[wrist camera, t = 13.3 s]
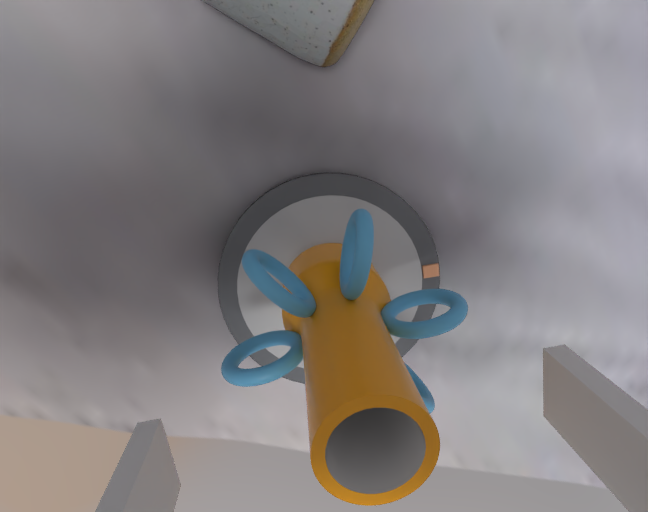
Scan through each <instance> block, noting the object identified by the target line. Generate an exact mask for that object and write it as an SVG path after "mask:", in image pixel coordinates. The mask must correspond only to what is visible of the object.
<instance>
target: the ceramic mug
mask: <svg viewBox="0 0 648 512" xmlns="http://www.w3.org/2000/svg"><path fill="white" fill-rule="evenodd" d="M201 1H203V2H205V3H207V4H209V5H210V6H212V7H214V8H216V9H217V10H219V11H221V12H222V13H224V14H226V15H227V16H229V17H231V18H232V19H234V20H235V21H237V22H239V23H240V24H242V25H244V26H245V27H247V28H249V29H250V30H252V31H254V32H256V33H258V34H260V35H262V36H263V37H265V38H266V39H268V40H270V41H271V42H273V43H274V44H276V45H278V46H279V47H281V48H283V49H284V50H286V51H288V52H289V53H291V54H293V55H294V56H296V57H298V58H300V59H302V60H305V61H307V62H310V63H312V64H315V65H317V66H322V67H326V66H330V65H333V64H335V63H336V62H337V61H338V60H339V59H340V57H341V56H342V55H343V53H344V52H345V50H346V49H347V47H348V45H349V44H350V42H351V40H352V39H353V37H354V35H355V34H356V32H357V30H358V29H359V27H360V25H361V24H362V22H363V20H364V18H365V17H366V15H367V13H368V11H369V9H370V7H371V6H372V4H373V2H374V0H201Z"/></svg>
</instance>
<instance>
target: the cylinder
mask: <svg viewBox="0 0 648 512" xmlns="http://www.w3.org/2000/svg"><path fill="white" fill-rule="evenodd" d="M373 245H374V226H373V220H372V217H371V214H370V213H369V212H368V211H367V210H365V209H357V210H355V211H354V212H353V213H352V215H351V216H350V219H349V221H348V224H347V227H346V231H345V235H344V240H343V244H341V243H323V244H319V245H316V246H313V247H311V248H309V249H307V250H305V251H304V252H302V253H301V254H300V255H298V256H297V257H296V258H295V259H294V261H293V262H292V263H291V264H290V266H289V268H287V267H286V266H285V265H284V264H282V263H281V262H280V261H278V260H277V259H275V258H274V257H272V256H271V255H269V254H267V253H265V252H263V251H261V250H257V249H250V250H248V251H246V252H245V253H244V254H243V256H242V266H243V269H244V271H245V273H246V274H247V276H248V277H249V279H250V280H251V281H252V283H253V284H254V285H255V286H256V287H257V288H258V289H259V290H260V291H261V292H262V293H263V294H264V295H265V296H266V297H267V298H268V299H270V300H271V301H272V302H273V303H274V304H276V305H277V306H279V307H280V308H282V319H283V325H284V328H285V330H278V331H271V332H266V333H263V334H259V335H257V336H254V337H252V338H250V339H247V340H246V341H244V342H242V343H240V344H239V345H237V346H236V347H235V348H233V349H232V350H231V351H230V352H229V353H228V354H227V356H226V357H225V359H224V360H223V363H222V367H221V371H222V375H223V377H224V378H225V380H226V381H228V382H229V383H231V384H233V385H236V386H244V387H248V386H257V385H262V384H266V383H269V382H272V381H274V380H276V379H279V378H281V377H283V376H284V375H286V374H288V373H289V372H291V371H292V370H293V369H294V368H296V367H297V366H298V365H299V364H300V363H301V361H302V360H303V361H304V374H305V388H306V401H307V415H308V429H309V443H310V457H311V465H312V468H313V471H314V474H315V476H316V478H317V479H318V481H319V483H320V484H321V485H322V486H323V487H324V488H325V489H326V490H327V491H328V492H329V493H331V494H332V495H334V496H335V497H337V498H339V499H341V500H343V501H346V502H349V503H352V504H358V505H381V504H386V503H390V502H393V501H396V500H399V499H401V498H403V497H405V496H407V495H409V494H411V493H412V492H414V491H415V490H416V489H417V488H419V487H420V486H421V485H422V484H423V483H424V482H425V481H426V479H427V478H428V477H429V476H430V474H431V473H432V471H433V469H434V467H435V465H436V463H437V460H438V456H439V451H440V439H439V433H438V430H437V427H436V425H435V423H434V421H433V419H432V417H431V415H430V413H431V412H432V411H433V410H434V407H435V403H434V399H433V397H432V395H431V393H430V391H429V390H428V388H427V387H426V386H425V384H424V383H423V382H422V381H421V379H420V378H419V377H418V376H417V375H416V374H415V373H414V372H413V370H412V369H411V368H410V367H409V366H408V365H406V364H405V363H404V361H403V359H402V357H401V355H400V353H399V351H398V349H397V347H396V345H395V343H394V341H393V339H392V337H391V335H393V336H396V337H400V338H406V339H422V338H429V337H433V336H437V335H440V334H443V333H446V332H448V331H450V330H452V329H454V328H455V327H457V326H458V325H459V324H460V323H461V322H462V321H463V320H464V319H465V317H466V315H467V312H468V305H467V302H466V300H465V299H464V298H463V297H462V296H461V295H459V294H458V293H456V292H453V291H450V290H445V289H424V290H418V291H413V292H409V293H406V294H404V295H401V296H399V297H397V298H395V299H393V300H392V301H391V298H390V295H389V292H388V289H387V287H386V285H385V283H384V282H383V280H382V278H381V277H380V275H379V274H378V272H377V271H376V269H375V267H374V266H373V264H372V263H371V262H372V255H373ZM268 272H269V273H270V274H271V275H273V276H274V277H275V278H277V279H278V280H279V281H280V282H281V283H282V284H283V287H282V286H281V285H280V284H279V283H278V282H276V281H275V280H274V279H273V278H272V277H271V276H270V275H269V273H268ZM423 304H443V305H447V306H449V307H451V308H450V310H449V311H448V312H446V313H445V314H443V315H441V316H439V317H436V318H433V319H429V320H425V321H418V322H405V321H400V320H397V319H396V318H395V317H396V316H397V315H398V314H399V313H401V312H402V311H404V310H406V309H409V308H411V307H414V306H418V305H423ZM390 334H391V335H390ZM278 345H285V346H290V347H291V348H290V350H289V351H288V352H287V353H286V354H285V355H284V356H282V357H281V358H279V359H278V360H276V361H274V362H272V363H270V364H267V365H265V366H261V367H258V368H252V369H241V368H238V365H239V364H240V363H241V362H242V361H243V360H244V359H245V358H246V357H248V356H249V355H251V354H253V353H255V352H257V351H259V350H262V349H264V348H268V347H272V346H278Z"/></svg>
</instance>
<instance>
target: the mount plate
mask: <svg viewBox="0 0 648 512" xmlns="http://www.w3.org/2000/svg"><path fill="white" fill-rule="evenodd" d="M357 209H365V210H367V211H368V212H369V213H370V214H371V217H372V220H373V226H374V245H373V255H372V262H371V263H372V264H373V266H374V267H375V269H376V271H377V272H378V274H379V275H380V277H381V278H382V280H383V282H384V283H385V285H386V287H387V289H388V292H389V295H390V298H391V301H392V300H393V299H395V298H397V297H399V296H401V295H404V294H406V293H409V292H413V291H418V290H424V289H439V284H440V269H439V262H438V255H437V252H436V249H435V245H434V242H433V240H432V238H431V235H430V233H429V231H428V229H427V227H426V226H425V224H424V223H423V221H422V220H421V218H420V217H419V216H418V214H417V213H416V212H415V211H414V210H413V209H412V207H411V206H409V205H408V204H407V203H406V202H405V201H404V200H403V199H401V198H400V197H399V196H397V195H396V194H394V193H393V192H391V191H390V190H388V189H387V188H385V187H383V186H381V185H379V184H377V183H375V182H373V181H371V180H368V179H365V178H362V177H359V176H354V175H349V174H343V173H319V174H311V175H307V176H302V177H298V178H295V179H292V180H290V181H287V182H284V183H282V184H280V185H279V186H277V187H275V188H273V189H271V190H270V191H268V192H267V193H265V194H264V195H263V196H261V197H260V198H258V199H257V200H256V201H255V202H254V203H253V204H252V205H251V206H250V207H249V208H248V209H247V210H246V212H245V213H244V214H243V215H242V216H241V218H240V219H239V220H238V222H237V224H236V225H235V227H234V229H233V230H232V232H231V234H230V236H229V238H228V240H227V243H226V245H225V247H224V250H223V253H222V257H221V260H220V264H219V272H218V295H219V301H220V307H221V310H222V313H223V317H224V320H225V322H226V324H227V326H228V328H229V330H230V332H231V334H232V335H233V337H234V338H235V340H236V341H237V343H238V344H240V343H242V342H244V341H246V340H247V339H250V338H252V337H254V336H257V335H259V334H263V333H266V332H271V331H278V330H285V328H284V325H283V319H282V308H280V307H279V306H277V305H276V304H274V303H273V302H272V301H271V300H270V299H268V298H267V297H266V296H265V295H264V294H263V293H262V292H261V291H260V290H259V289H258V288H257V287H256V286H255V285H254V284H253V283H252V281H251V280H250V279H249V277H248V276H247V274H246V273H245V271H244V269H243V266H242V256H243V254H244V253H245V252H246V251H248V250H250V249H257V250H261V251H263V252H265V253H267V254H269V255H271V256H272V257H274V258H275V259H277V260H278V261H280V262H281V263H282V264H284V265H285V266H286V267H287V268H289V266H290V264H291V263H292V262H293V261H294V259H295V258H296V257H297V256H298V255H300V254H301V253H302V252H304V251H305V250H307V249H309V248H311V247H313V246H316V245H319V244H323V243H341V244H343V240H344V235H345V231H346V227H347V224H348V221H349V219H350V216H351V215H352V213H353V212H354V211H355V210H357ZM268 273H269V272H268ZM269 275H270V276H271V277H272V278H273V279H274V280H275V281H276V282H278V283H279V284H280V285H281V286H282V287H283V284H282V283H281V282H280V281H279V280H278V279H277V278H275V277H274V276H273V275H271V274H270V273H269ZM435 306H436V304H423V305H418V306H414V307H411V308H409V309H406V310H404V311H402V312H401V313H399V314H398V315H397V316H396V317H395V318H396V319H397V320H400V321H405V322H418V321H425V320H429V319H431V317H432V314H433V312H434V309H435ZM390 335H391V334H390ZM391 337H392V339H393V341H394V343H395V345H396V347H397V349H398V351H399V353H400V355H401V357H403V356H404V355H405V354H406V353H407V352H408V351H409V350H410V349H411V348H412V347H413V346H414V345H415V343H416V342H417V341H418V339H406V338H400V337H396V336H393V335H391ZM290 348H291V347H290V346H285V345H278V346H272V347H268V348H264V349H262V350H259V351H257V352H255V353H253V354H251V355H249V356H250V357H251V358H252V359H253V360H254V361H256V362H257V363H258V364H260V365H261V366H265V365H267V364H270V363H272V362H274V361H276V360H278V359H279V358H281V357H282V356H284V355H285V354H286V353H287V352H288V351H289V350H290ZM283 378H286V379H289V380H291V381H295V382H299V383H304V384H305V374H304V361H303V360H302V361H301V363H300V364H299V365H298V366H297V367H296V368H294V369H293V370H292V371H291V372H289V373H288V374H286V375H284V376H283Z"/></svg>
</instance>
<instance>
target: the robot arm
mask: <svg viewBox="0 0 648 512" xmlns="http://www.w3.org/2000/svg"><path fill="white" fill-rule="evenodd" d="M543 403H544V417H545V418H546V419H547V420H548V422H549V423H550V424H551V425H552V426H553V427H554V428H555V429H556V430H557V432H558V433H559V434H560V435H561V436H562V437H563V438H564V439H565V441H566V442H567V443H568V444H569V445H570V446H571V447H572V448H573V450H574V451H575V452H576V453H577V454H578V455H579V456H580V457H581V458H582V460H583V461H584V462H585V463H586V464H587V465H588V466H589V467H590V469H591V470H592V471H593V472H594V473H595V474H596V475H597V476H598V478H599V479H600V480H601V481H602V482H603V483H604V484H605V485H606V486H607V488H608V489H609V490H610V491H611V492H612V493H613V494H614V495H615V497H616V498H617V499H618V500H619V501H620V502H621V503H622V504H623V505H624V507H625V508H626V509H627V510H628V511H629V512H648V410H647V409H646V408H645V407H643V406H642V405H641V404H640V403H638V402H637V401H636V400H635V399H633V398H632V397H631V396H629V395H628V394H627V393H626V392H624V391H623V390H622V389H621V388H619V387H618V386H617V385H615V384H614V383H613V382H612V381H610V380H609V379H608V378H606V377H605V376H604V375H603V374H601V373H600V372H599V371H598V370H596V369H595V368H594V367H592V366H591V365H590V364H589V363H587V362H586V361H585V360H584V359H582V358H581V357H580V356H578V355H577V354H576V353H575V352H573V351H572V350H571V349H569V348H568V347H567V346H566V345H560V346H554V347H549V348H543ZM180 487H181V483H180V480H179V477H178V474H177V470H176V467H175V464H174V460H173V457H172V454H171V451H170V447H169V444H168V441H167V437H166V434H165V430H164V427H163V424H162V421H161V419H156V420H150V421H145V422H140V423H137V425H136V427H135V430H134V432H133V434H132V436H131V438H130V440H129V442H128V444H127V446H126V448H125V451H124V452H123V455H122V457H121V459H120V461H119V463H118V465H117V467H116V469H115V471H114V473H113V475H112V477H111V480H110V482H109V484H108V486H107V488H106V490H105V492H104V494H103V496H102V498H101V500H100V503H99V505H98V507H97V509H96V511H95V512H174V508H175V505H176V501H177V497H178V494H179V490H180Z"/></svg>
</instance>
